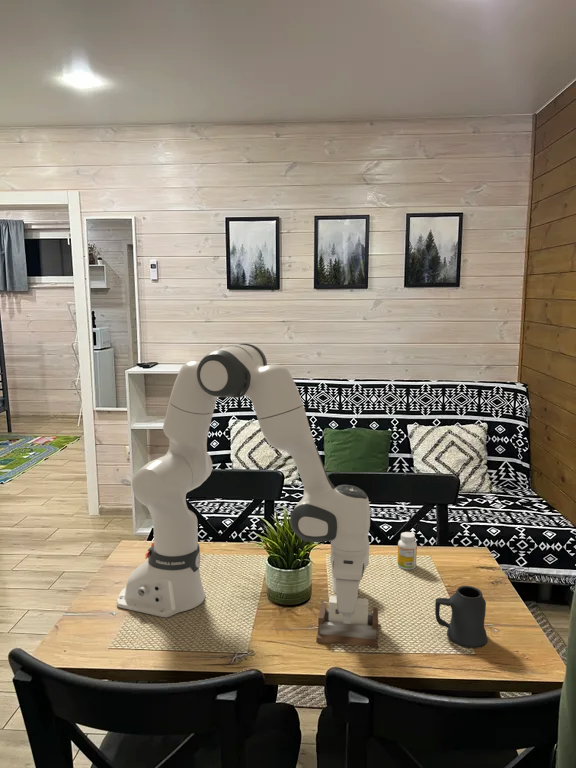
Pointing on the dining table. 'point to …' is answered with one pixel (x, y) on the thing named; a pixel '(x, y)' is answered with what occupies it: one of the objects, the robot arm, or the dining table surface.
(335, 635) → the brown wooden rack
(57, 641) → the dining table surface
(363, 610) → the white block with hole
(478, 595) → the mug
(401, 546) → the supplement bottle
